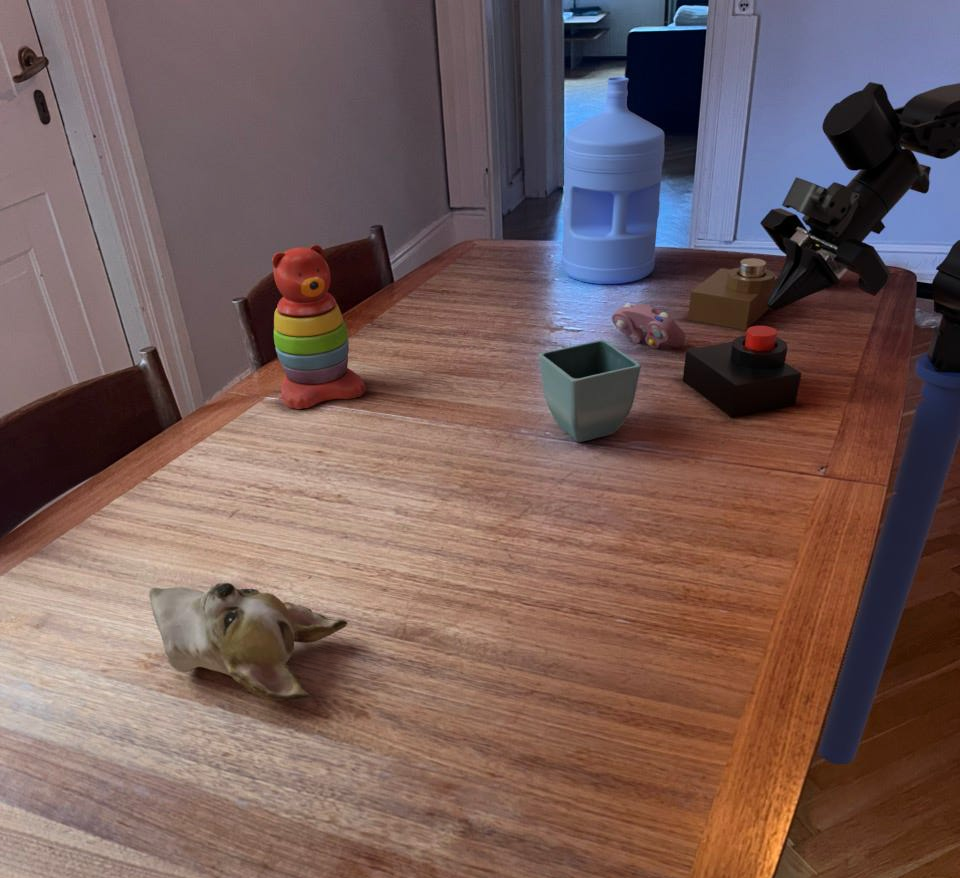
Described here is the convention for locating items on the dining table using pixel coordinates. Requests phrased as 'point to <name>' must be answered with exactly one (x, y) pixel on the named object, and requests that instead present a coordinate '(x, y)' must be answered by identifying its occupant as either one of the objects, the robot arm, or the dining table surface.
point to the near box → (742, 377)
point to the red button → (761, 338)
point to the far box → (731, 299)
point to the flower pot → (589, 388)
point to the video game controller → (648, 325)
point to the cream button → (752, 268)
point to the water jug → (611, 193)
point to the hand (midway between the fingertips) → (770, 308)
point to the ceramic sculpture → (238, 635)
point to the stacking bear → (310, 332)
